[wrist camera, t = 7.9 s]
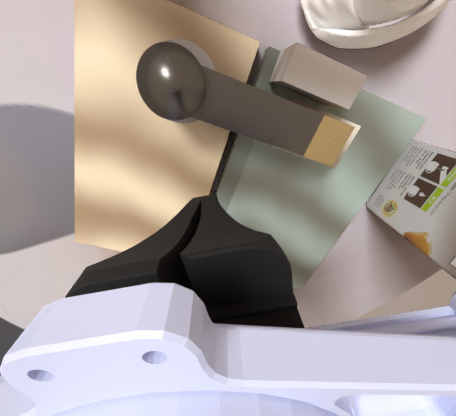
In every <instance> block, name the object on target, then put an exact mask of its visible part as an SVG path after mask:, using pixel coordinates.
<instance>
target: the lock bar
mask: <svg viewBox="0 0 456 416" xmlns="http://www.w3.org/2000/svg"><path fill="white" fill-rule="evenodd" d="M136 82H137V87H138V90H139V93H140V96H141V98H142V99H143V101H144V103H145V104H146V105H147V107H148V108H149V109H150V110H151V111H152V112H154V113H155V114H156V115H158V116H160V117H162V118H164V119H167V120H173V121H178V120H183V119H186V118H188V117H192V118H195V119H198V120H200V121H203V122H206V123H209V124H212V125H215V126H218V127H220V128H223V129H226V130H229V131H232V132H235V133H238V134H241V135H243V136H246V137H249V138H252V139H255V140H258V141H261V142H263V143H266V144H269V145H272V146H275V147H278V148H281V149H284V150H286V151H289V152H292V153H295V154H298V155H301V156H304V157H306V158H309V159H312V160H315V161H318V162H321V163H324V164H327V165H329V166H332V165H333V164H334V162H335V160H336V159H337V157H338V155H339V154H340V152H341V150H342V149H343V147H344V145H345V144H346V142H347V140H348V138H349V137H350V135H351V133H352V132H353V130H354V128H355V127H354V126H351V125H349V124H346V123H344V122H341V121H339V120H336V119H334V118H331V117H329V116H326V115H324V114H321V113H319V112H316V111H314V110H311V109H309V108H306V107H304V106H301V105H299V104H296V103H294V102H291V101H289V100H286V99H284V98H281V97H279V96H276V95H274V94H271V93H269V92H266V91H264V90H262V89H259V88H257V87H254V86H252V85H249V84H247V83H244V82H242V81H239V80H237V79H234V78H232V77H229V76H227V75H224V74H222V73H219V72H217V71H214V70H212V69H209V68H207V67H204V66H202V65H201V64H200V63H199V61H198V60H197V58H196V57H195V56H194V55H193V54H192V53H191V52H190V51H189V50H188V49H187V48H185V47H184V46H182V45H180V44H177V43H174V42H159V43H156V44H154V45H152V46H150V47H149V48H148V49H146V51H145V52H144V53H143V54H142V56H141V57H140V60H139V62H138V65H137V70H136Z"/></svg>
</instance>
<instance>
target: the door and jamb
mask: <svg viewBox="0 0 456 416" xmlns="http://www.w3.org/2000/svg"><path fill="white" fill-rule="evenodd" d="M74 14H75V242H80V243H84V244H89V245H94V246H98V247H103V248H108V249H113V250H117V251H122V252H123V251H125V250H127V249H129V248H131V247H133V246H135V245H136V244H138V243H140V242H141V241H143V240H145V239H146V238H148V237H149V236H151V235H153V234H154V233H155V232H157V231H158V230H159V229H161V228H162V227H163V226H164V225H166V224H167V223H168V222H169V221H170V220H171V219H172V218H173V217H174V216H176V215H177V214H178V213H179V212H180V211H181V209H182V208H183V207H184V206H185V205H186V204H187V203H188V202H189V201H190V200H191V199H192V198H195V197H201V196H206V195H209V193H210V190H211V187H212V184H213V181H214V178H215V175H216V172H217V169H218V166H219V163H220V160H221V157H222V154H223V151H224V148H225V145H226V142H227V139H228V136H229V133H230V131H229V130H226V129H223V128H220V127H218V126H215V125H212V124H209V123H206V122H203V121H200V120H198V119H195V118H192V117H188V118H186V119H183V120H178V121H173V120H167V119H164V118H162V117H160V116H158V115H156V114H155V113H154V112H152V111H151V110H150V109H149V108H148V107H147V105H146V104H145V103H144V101H143V99H142V98H141V96H140V93H139V90H138V87H137V82H136V70H137V65H138V62H139V60H140V57H141V56H142V54H143V53H144V52H145V51H146V49H148V48H149V47H150V46H152V45H154V44H156V43H159V42H174V43H177V44H180V45H182V46H184V47H185V48H187V49H188V50H189V51H190V52H191V53H192V54H193V55H194V56H195V57H196V58H197V60H198V61H199V63H200V64H201V65H202V66H204V67H207V68H209V69H212V70H214V71H217V72H219V73H222V74H224V75H227V76H229V77H232V78H234V79H237V80H239V81H242V82H244V83H246V82H247V79H248V76H249V73H250V70H251V67H252V64H253V62H254V59H255V56H256V53H257V50H258V47H259V44H260V42H258V41H256V40H254V39H252V38H250V37H248V36H245V35H243V34H241V33H239V32H237V31H235V30H232V29H230V28H228V27H226V26H224V25H222V24H219V23H217V22H215V21H213V20H211V19H208V18H206V17H204V16H202V15H200V14H198V13H195V12H193V11H191V10H189V9H187V8H185V7H182V6H180V5H178V4H176V3H174V2H172V1H169V0H74ZM367 77H368V76H367V75H365V74H362V73H360V72H358V71H356V70H354V69H352V68H350V67H348V66H346V65H344V64H342V63H339V62H337V61H335V60H333V59H331V58H329V57H327V56H325V55H323V54H321V53H319V52H316V51H314V50H312V49H310V48H308V47H306V46H304V45H302V44H300V43H298V42H297V43H295V44H293V45H292V46H290V47H288V48H286V49H284V50H282V51H278V50H276V49H274V48H272V47H268V48H267V49H266V51H265V54H264V56H263V59H262V62H261V65H260V68H259V71H258V73H257V76H256V79H255V82H254V85H253V86H254V87H257V88H259V89H262V90H264V91H266V92H269V93H271V94H274V95H276V96H279V97H281V98H284V99H286V100H289V101H291V102H294V103H296V104H299V105H301V106H304V107H306V108H309V109H311V110H314V111H316V112H319V113H321V114H324V115H326V116H329V117H331V118H334V119H336V120H339V121H341V122H344V123H346V124H349V125H351V126H354V127H355V128H354V130H353V132H352V133H351V135H350V137H349V138H348V140H347V142H346V144H345V145H344V147H343V149H342V150H341V152H340V154H339V155H338V157H337V159H336V160H335V162H334V164H333V165H332V166H329V165H327V164H324V163H321V162H318V161H315V160H312V159H309V158H306V157H304V156H301V155H298V154H295V153H292V152H289V151H286V150H284V149H281V148H278V147H275V146H272V145H269V144H266V143H263V142H261V141H258V140H255V139H252V138H249V137H246V136H243V135H241V134H238V133H236V136H235V139H234V142H233V145H232V148H231V150H230V153H229V156H228V159H227V162H226V165H225V168H224V170H223V173H222V176H221V179H220V182H219V185H218V188H217V190H216V193H215V194H216V195H217V198H218V201H219V203H220V205H221V206H222V207H223V209H224V210H225V211H226V212H227V213H228V214H229V215H230V216H231V217H232V218H233V219H234V220H236V221H237V222H239V223H240V224H242V225H244V226H246V227H248V228H250V229H253V230H256V231H259V232H263V233H267V234H270V235H272V237H273V238H274V239H275V240H276V242H277V243H278V244H279V246H280V247H281V248H282V250H283V251H284V253H285V255H286V256H287V258H288V260H289V262H290V265H291V269H292V281H293V288H296V289H300V290H301V288H302V287H303V286H304V284H305V283H306V282H307V280H308V279H309V278H310V276H311V275H312V273H313V272H314V271H315V269H316V268H317V267H318V265H319V264H320V263H321V261H322V260H323V259H324V257H325V256H326V255H327V253H328V252H329V251H330V249H331V248H332V247H333V245H334V244H335V243H336V241H337V240H338V238H339V237H340V236H341V234H342V233H343V232H344V230H345V229H346V228H347V226H348V225H349V224H350V222H351V221H352V220H353V218H354V217H355V216H356V214H357V213H358V212H359V210H360V209H361V208H362V206H363V205H364V203H365V202H366V201H367V199H368V198H369V197H370V195H371V194H372V193H373V191H374V190H375V189H376V187H377V186H378V185H379V183H380V182H381V181H382V179H383V178H384V177H385V175H386V174H387V173H388V171H389V170H390V168H391V167H392V166H393V164H394V163H395V162H396V160H397V159H398V158H399V156H400V155H401V154H402V152H403V151H404V150H405V148H406V147H407V146H408V144H409V143H410V142H411V140H412V139H413V138H414V136H415V135H416V133H417V132H418V131H419V129H420V128H421V127H422V125H423V124H424V123H425V121H426V120H427V119H426V118H424V117H421V116H419V115H417V114H415V113H413V112H411V111H408V110H406V109H404V108H402V107H400V106H398V105H395V104H393V103H391V102H389V101H387V100H385V99H382V98H380V97H378V96H376V95H374V94H371V93H369V92H367V91H365V90H363V89H361V88H362V86H363V84H364V82H365V81H366V79H367Z"/></svg>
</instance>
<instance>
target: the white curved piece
mask: <svg viewBox="0 0 456 416" xmlns="http://www.w3.org/2000/svg"><path fill="white" fill-rule="evenodd" d="M428 1H429V0H300V3H301V6H302V9H303V11H304V15H305V19H306V21H307V23H308V25H309V27H310V29H311V31H312V32H313V33H314V34H315V36H316V37H317V38H319V39H320V40H323V41H324V42H326V43H328V44H329V45H332V46H334V47H337V48H346V49H360V48H372V47H377V46H380V45H383V44H385V43H389V42H392V41H395V40H397V39H399V38H402V37H404V36H406V35H408V34H410V33H412V32H414V31H416V30H417V29H419V28H420V27H422V26H423V25H425V24H426V23H428V22H429V21H430V20H431V19H432V18H433V17H435V16H436V15H437V14H438V13H440V12H441V11H442V10H443V9H444V8H445V7H446V6H447V5H448V3H449V2H450V0H434V1H433V2H432V3H431V4H430V5H428V6H427V7H426V8H425V9H423V10H422V11H421V12H419V13H418V14H416V15H414V16H411V17H409V18H407V19H404V20H402V21H400V22H397V23H395V24H392V25H388V26H384V27H378V28H371V29H370V27H369V26H370V25H376V24H382V23H386V22H390V21H394V20H397V19H399V18H402V17H404V16H406V15H408V14H410V13H412V12H413V11H415V10H417V9H418V8H420V7H421V6H423V5H424V4H425V3H427V2H428Z"/></svg>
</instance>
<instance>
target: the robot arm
mask: <svg viewBox="0 0 456 416" xmlns="http://www.w3.org/2000/svg"><path fill="white" fill-rule="evenodd" d="M0 372H1V375H2V376H0V416H456V292H455V293H454V294H453V296H452V298H451V301H450V305H449V306H444V307H437V308H431V309H424V310H418V311H412V312H406V313H399V314H393V315H387V316H380V317H374V318H367V319H361V320H355V321H348V322H342V323H336V324H329V325H323V326H317V327H310V328H304V325H303V323H302V320H301V317H300V315H299V312H298V309H297V302H296V299H295V296H294V294H293V281H292V269H291V265H290V262H289V260H288V258H287V256H286V255H285V253H284V251H283V250H282V248H281V247H280V246H279V244H278V243H277V242H276V240H275V239H274V238H273V237H272V235H270V234H267V233H263V232H259V231H256V230H253V229H250V228H248V227H246V226H244V225H242V224H240V223H239V222H237V221H236V220H234V219H233V218H232V217H231V216H230V215H229V214H228V213H227V212H226V211H225V210H224V209H223V207H222V206H221V205H220V203H219V201H218V198H217V195H216V194H211V195H206V196H201V197H195V198H192V199H191V200H190V201H189V202H188V203H187V204H186V205H185V206H184V207H183V208H182V209H181V211H180V212H179V213H178V214H177V215H176V216H174V217H173V218H172V219H171V220H170V221H169V222H168V223H167V224H166V225H164V226H163V227H162V228H161V229H159V230H158V231H157V232H155V233H154V234H153V235H151V236H149V237H148V238H146V239H145V240H143V241H141V242H140V243H138V244H136V245H135V246H133V247H131V248H129V249H127V250H125V251H123V252H121V253H119V254H117V255H115V256H113V257H110V258H108V259H105V260H103V261H101V262H98V263H96V264H93V265H91V266H88V267H86V269H85V270H84V271H83V273H82V274H81V276H80V277H79V278H78V280H77V281H76V283H75V284H74V285H73V287H72V288H71V289H70V291H69V292H68V294H67V295H66V297H65V298H62V299H59V300H57V301H54V302H52V303H50V304H47V305H45V306H44V307H43V308H42V309H41V310H40V312H39V313H38V314H37V316H36V317H35V318H34V319H33V321H32V322H31V323H30V324H29V326H28V327H27V328H26V329H25V331H24V332H23V333H22V334H21V336H20V337H19V338H18V339H17V341H16V342H15V343H14V345H13V346H12V347H11V348H10V350H9V351H8V352H7V353H6V355H5V356H4V358H3V361H2V364H1V367H0Z"/></svg>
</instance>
